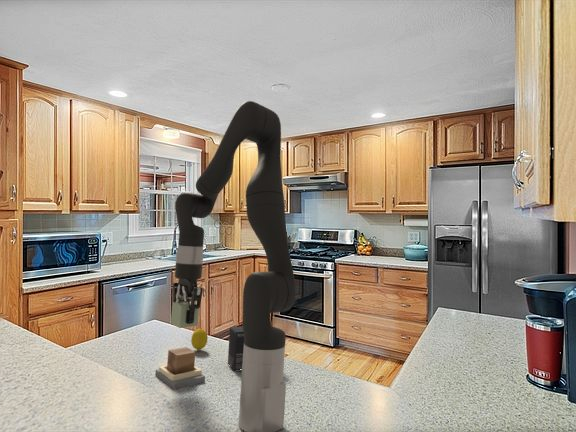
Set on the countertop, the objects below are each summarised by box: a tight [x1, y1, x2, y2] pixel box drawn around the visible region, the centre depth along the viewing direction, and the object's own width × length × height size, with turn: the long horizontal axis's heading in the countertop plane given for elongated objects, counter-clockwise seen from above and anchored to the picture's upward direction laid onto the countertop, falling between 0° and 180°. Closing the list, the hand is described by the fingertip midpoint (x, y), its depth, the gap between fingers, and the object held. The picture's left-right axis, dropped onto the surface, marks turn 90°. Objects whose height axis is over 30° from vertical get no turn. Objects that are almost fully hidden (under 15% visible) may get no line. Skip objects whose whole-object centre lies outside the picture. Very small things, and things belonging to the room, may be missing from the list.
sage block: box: [170, 302, 200, 329], centre depth 101 cm, size 6×6×6 cm
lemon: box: [190, 327, 208, 351], centre depth 125 cm, size 6×6×8 cm
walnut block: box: [166, 346, 196, 375], centre depth 100 cm, size 6×6×6 cm
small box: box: [227, 326, 244, 372], centre depth 113 cm, size 13×7×12 cm, turn 115°
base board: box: [155, 364, 206, 390], centre depth 100 cm, size 12×9×3 cm
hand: (184, 320), depth 101 cm, fingers closed on sage block, 5 cm apart
